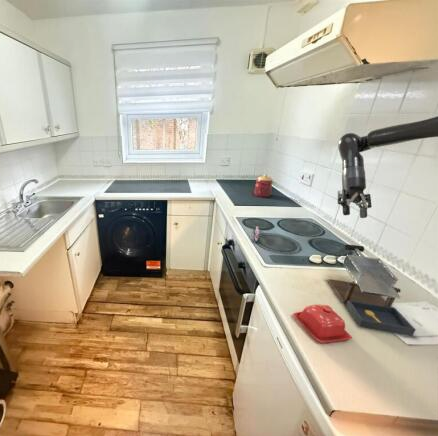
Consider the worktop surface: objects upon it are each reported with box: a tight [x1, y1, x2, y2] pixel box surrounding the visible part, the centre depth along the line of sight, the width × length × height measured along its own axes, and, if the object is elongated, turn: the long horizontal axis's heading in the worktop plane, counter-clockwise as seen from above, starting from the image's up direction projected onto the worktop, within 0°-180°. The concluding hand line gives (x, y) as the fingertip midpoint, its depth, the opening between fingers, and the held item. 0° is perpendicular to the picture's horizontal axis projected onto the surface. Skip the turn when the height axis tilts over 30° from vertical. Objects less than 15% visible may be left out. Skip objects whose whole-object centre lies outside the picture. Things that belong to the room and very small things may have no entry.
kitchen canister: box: [253, 174, 274, 198], centre depth 197 cm, size 13×13×18 cm
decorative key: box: [253, 225, 260, 243], centre depth 130 cm, size 7×1×20 cm
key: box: [365, 310, 382, 323], centre depth 76 cm, size 6×3×1 cm, turn 178°
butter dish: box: [292, 304, 353, 344], centre depth 71 cm, size 12×12×8 cm
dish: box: [342, 244, 401, 299], centre depth 84 cm, size 22×10×5 cm, turn 164°
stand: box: [327, 278, 402, 307], centre depth 85 cm, size 13×14×9 cm
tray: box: [345, 300, 416, 337], centre depth 76 cm, size 13×9×2 cm
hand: (355, 216), depth 98 cm, fingers open, 8 cm apart
